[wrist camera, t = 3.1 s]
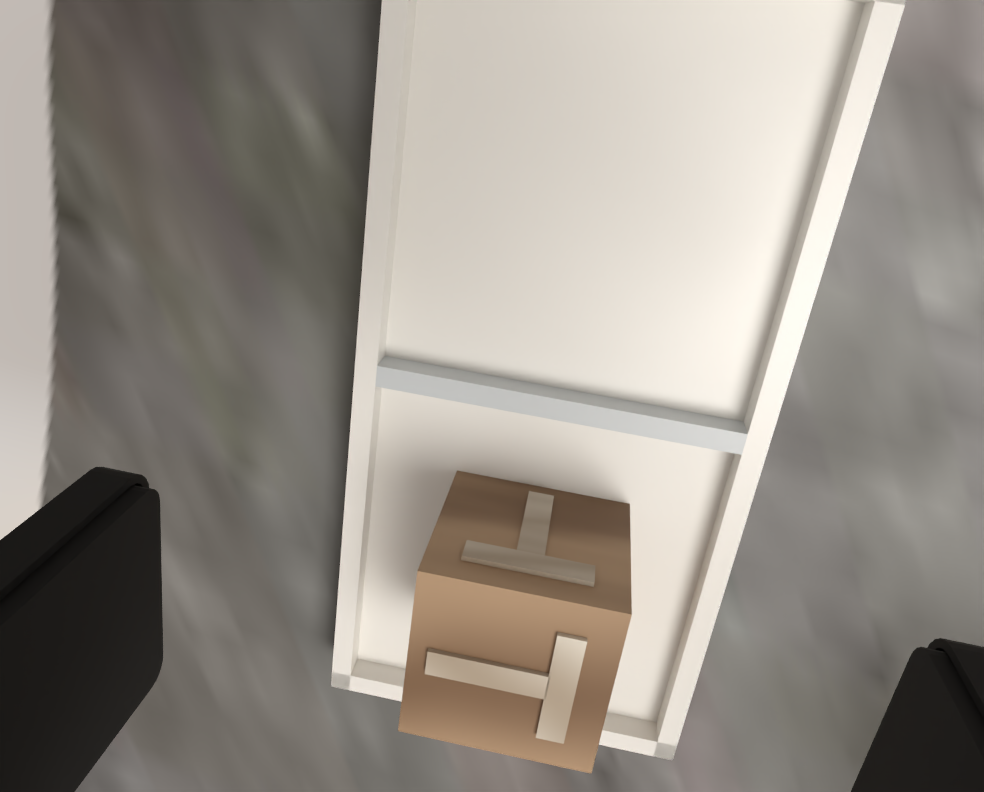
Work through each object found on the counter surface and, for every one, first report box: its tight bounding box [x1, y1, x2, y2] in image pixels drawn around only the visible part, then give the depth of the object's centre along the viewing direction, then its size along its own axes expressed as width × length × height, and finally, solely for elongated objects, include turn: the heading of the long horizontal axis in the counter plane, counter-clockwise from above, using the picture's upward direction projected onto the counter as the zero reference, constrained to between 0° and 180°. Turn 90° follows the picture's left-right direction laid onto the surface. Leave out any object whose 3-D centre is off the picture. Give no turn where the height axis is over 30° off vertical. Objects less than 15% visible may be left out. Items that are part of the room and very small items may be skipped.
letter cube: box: [398, 470, 632, 773], centre depth 22 cm, size 5×5×5 cm
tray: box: [331, 0, 906, 760], centre depth 22 cm, size 22×11×2 cm, turn 172°
